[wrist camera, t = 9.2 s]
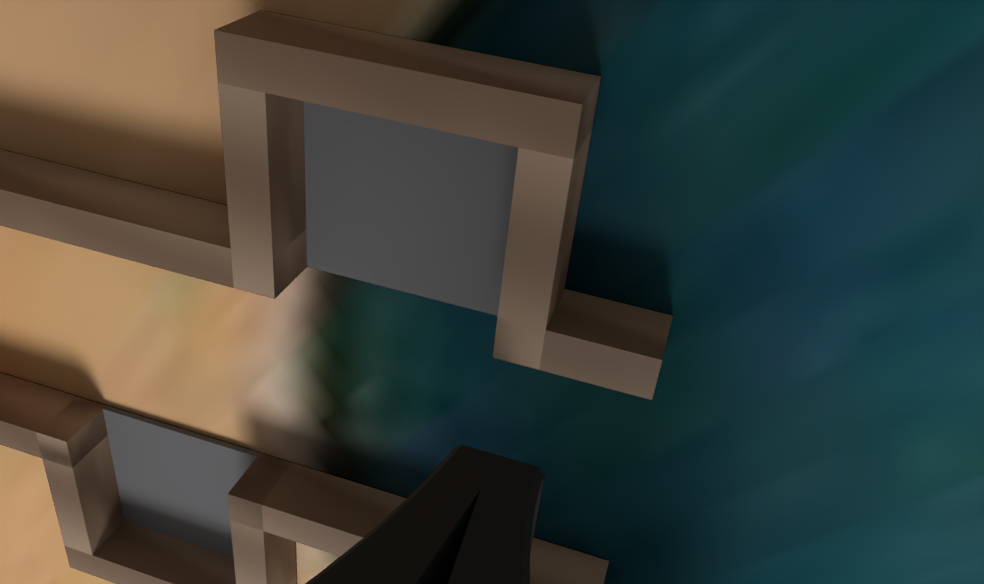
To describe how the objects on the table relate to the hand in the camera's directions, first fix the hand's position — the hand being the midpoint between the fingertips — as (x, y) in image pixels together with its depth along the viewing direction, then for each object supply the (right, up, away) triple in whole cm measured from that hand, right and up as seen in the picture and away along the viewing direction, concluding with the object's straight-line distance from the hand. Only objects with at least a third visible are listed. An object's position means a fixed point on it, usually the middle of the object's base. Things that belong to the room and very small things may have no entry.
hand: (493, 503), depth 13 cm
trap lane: (-10, +2, +14) cm, 18 cm away
